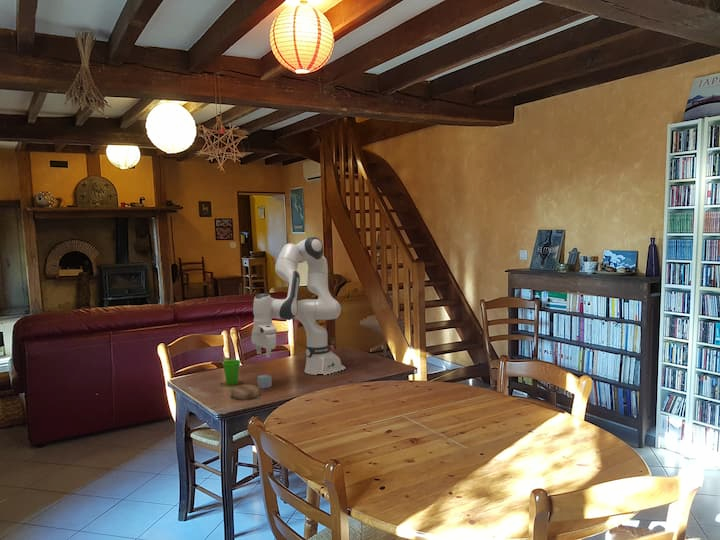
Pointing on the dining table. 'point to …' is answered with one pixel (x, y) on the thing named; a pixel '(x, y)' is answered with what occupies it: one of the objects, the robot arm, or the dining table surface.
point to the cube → (264, 381)
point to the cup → (231, 371)
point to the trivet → (245, 392)
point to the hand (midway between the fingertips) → (263, 355)
